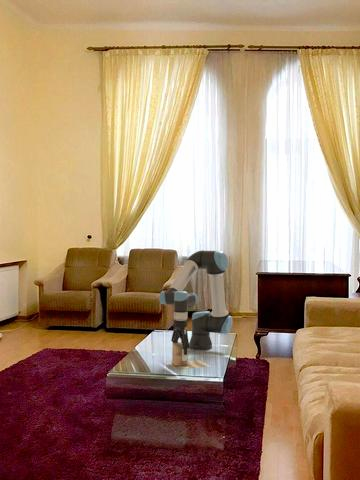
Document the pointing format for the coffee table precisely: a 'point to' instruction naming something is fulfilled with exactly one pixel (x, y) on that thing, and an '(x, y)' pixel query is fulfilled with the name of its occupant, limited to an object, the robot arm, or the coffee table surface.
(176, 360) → the block
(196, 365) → the board
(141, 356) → the coffee table surface
